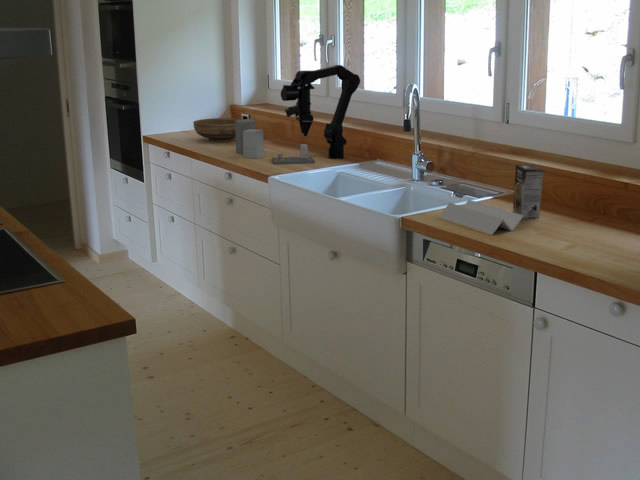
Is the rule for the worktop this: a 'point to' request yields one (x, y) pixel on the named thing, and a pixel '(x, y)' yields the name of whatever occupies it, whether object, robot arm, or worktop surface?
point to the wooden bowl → (216, 129)
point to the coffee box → (527, 190)
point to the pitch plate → (291, 160)
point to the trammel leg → (303, 151)
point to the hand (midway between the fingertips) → (304, 134)
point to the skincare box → (239, 128)
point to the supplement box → (253, 143)
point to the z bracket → (481, 216)
